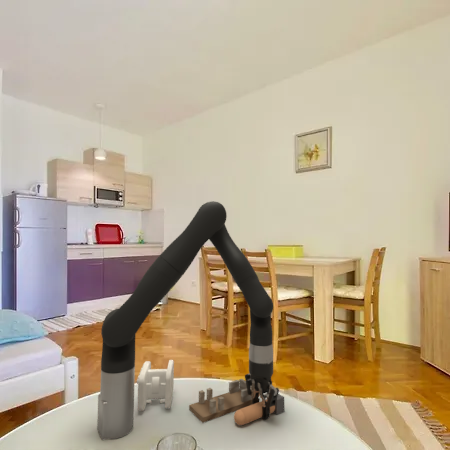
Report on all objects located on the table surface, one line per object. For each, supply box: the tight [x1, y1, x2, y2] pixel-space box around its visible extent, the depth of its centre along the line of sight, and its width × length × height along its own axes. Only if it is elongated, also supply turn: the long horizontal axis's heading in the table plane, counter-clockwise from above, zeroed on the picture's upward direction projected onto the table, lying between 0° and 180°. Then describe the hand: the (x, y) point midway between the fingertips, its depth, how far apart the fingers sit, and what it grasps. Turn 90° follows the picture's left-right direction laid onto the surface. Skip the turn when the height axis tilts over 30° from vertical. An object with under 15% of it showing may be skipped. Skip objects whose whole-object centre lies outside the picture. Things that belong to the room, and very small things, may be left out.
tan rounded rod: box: [233, 393, 285, 426], centre depth 95 cm, size 18×4×4 cm, turn 124°
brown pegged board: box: [188, 378, 252, 424], centre depth 101 cm, size 21×9×5 cm, turn 124°
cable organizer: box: [136, 359, 175, 412], centre depth 103 cm, size 15×11×12 cm
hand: (260, 414), depth 95 cm, fingers closed on tan rounded rod, 4 cm apart
